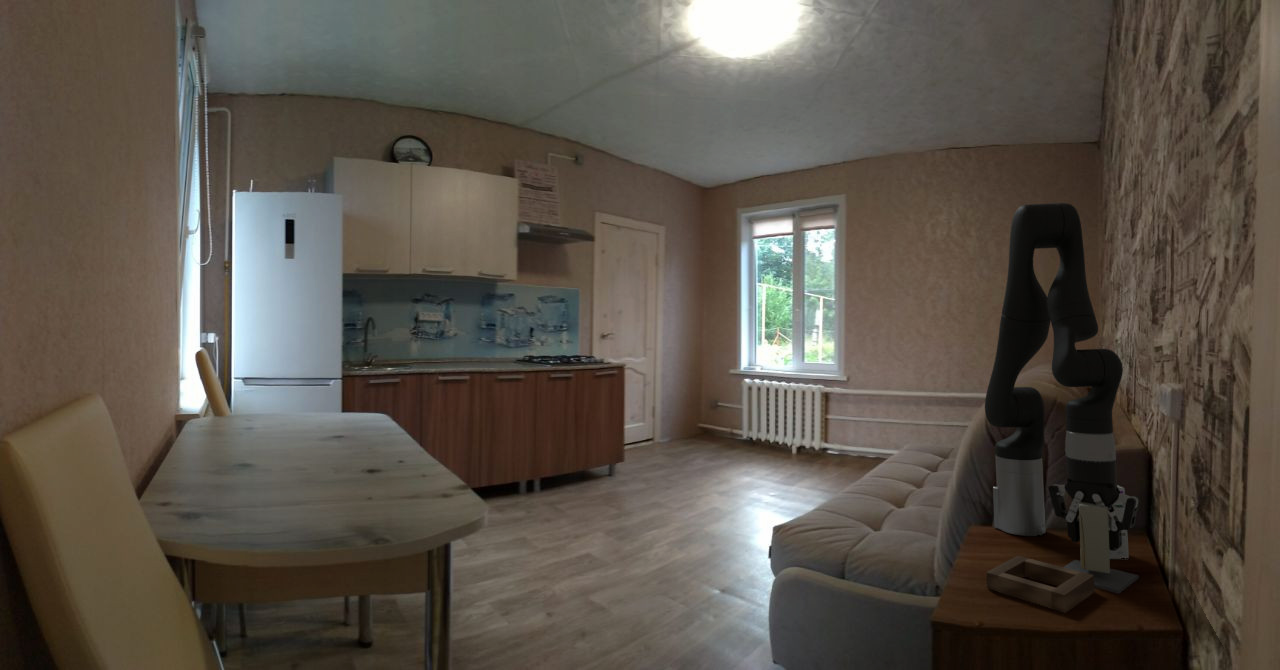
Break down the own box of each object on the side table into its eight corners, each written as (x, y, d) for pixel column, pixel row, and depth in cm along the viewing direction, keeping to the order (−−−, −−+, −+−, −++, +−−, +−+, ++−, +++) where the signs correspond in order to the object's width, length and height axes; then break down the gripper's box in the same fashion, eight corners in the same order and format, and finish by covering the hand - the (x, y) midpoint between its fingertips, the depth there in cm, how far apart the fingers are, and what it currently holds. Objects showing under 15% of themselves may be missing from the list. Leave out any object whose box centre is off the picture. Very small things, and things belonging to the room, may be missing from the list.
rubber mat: (1053, 576, 112) (1053, 572, 112) (1075, 562, 118) (1075, 559, 118) (1118, 593, 104) (1118, 590, 104) (1138, 578, 109) (1138, 575, 109)
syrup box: (1130, 559, 118) (1127, 487, 118) (1096, 558, 119) (1093, 487, 119) (1113, 549, 124) (1110, 480, 124) (1081, 548, 125) (1078, 480, 125)
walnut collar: (987, 588, 108) (986, 572, 108) (1018, 570, 115) (1017, 555, 115) (1065, 613, 98) (1064, 595, 98) (1094, 592, 105) (1093, 575, 105)
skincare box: (1080, 558, 115) (1077, 496, 115) (1109, 562, 112) (1106, 498, 112) (1081, 569, 109) (1078, 504, 110) (1111, 574, 107) (1108, 507, 107)
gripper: (1145, 457, 107) (1149, 551, 107) (1055, 447, 119) (1058, 531, 119) (1131, 464, 103) (1135, 561, 103) (1038, 453, 115) (1042, 540, 115)
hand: (1094, 545), depth 111 cm, fingers closed on skincare box, 5 cm apart
